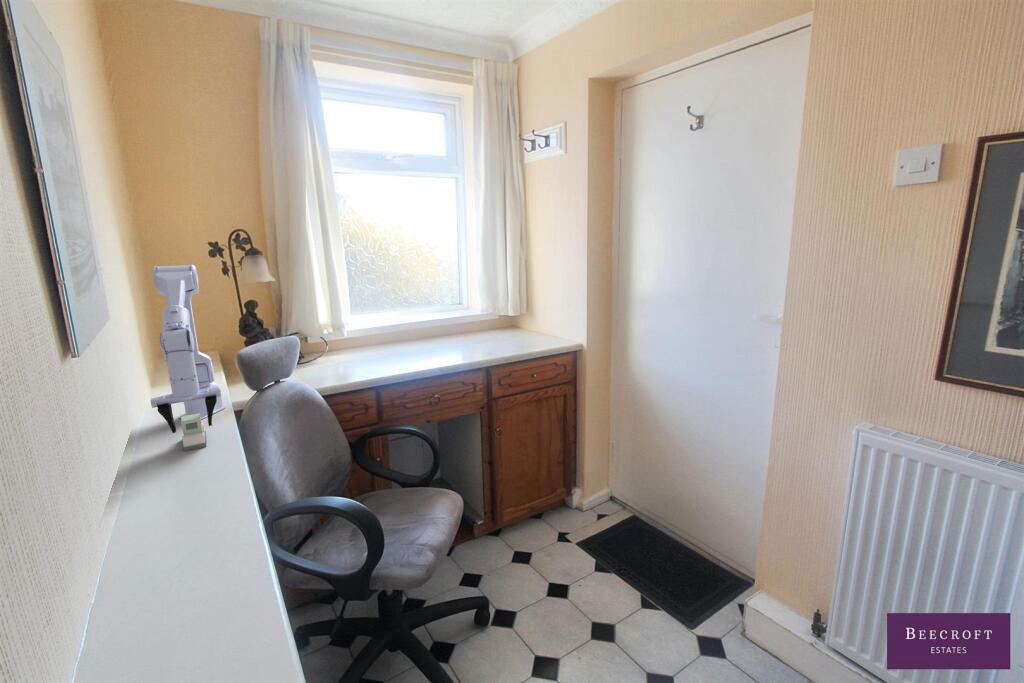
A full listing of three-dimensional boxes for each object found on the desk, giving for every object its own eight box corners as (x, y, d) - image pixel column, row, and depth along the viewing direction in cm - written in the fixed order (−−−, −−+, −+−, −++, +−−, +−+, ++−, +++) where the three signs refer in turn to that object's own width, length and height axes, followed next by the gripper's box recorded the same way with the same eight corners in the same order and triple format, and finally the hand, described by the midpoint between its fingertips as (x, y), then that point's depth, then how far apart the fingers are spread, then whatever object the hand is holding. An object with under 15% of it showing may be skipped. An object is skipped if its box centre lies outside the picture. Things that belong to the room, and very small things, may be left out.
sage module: (185, 436, 124) (181, 416, 122) (203, 432, 126) (199, 413, 125) (184, 442, 120) (180, 421, 119) (203, 438, 122) (200, 418, 121)
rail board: (184, 438, 126) (182, 426, 125) (206, 434, 128) (204, 422, 128) (183, 451, 118) (181, 438, 118) (206, 446, 121) (204, 434, 120)
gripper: (145, 386, 112) (156, 440, 115) (217, 375, 120) (226, 426, 123) (148, 378, 118) (158, 430, 121) (217, 369, 126) (225, 417, 129)
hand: (192, 427), depth 122 cm, fingers open, 7 cm apart
